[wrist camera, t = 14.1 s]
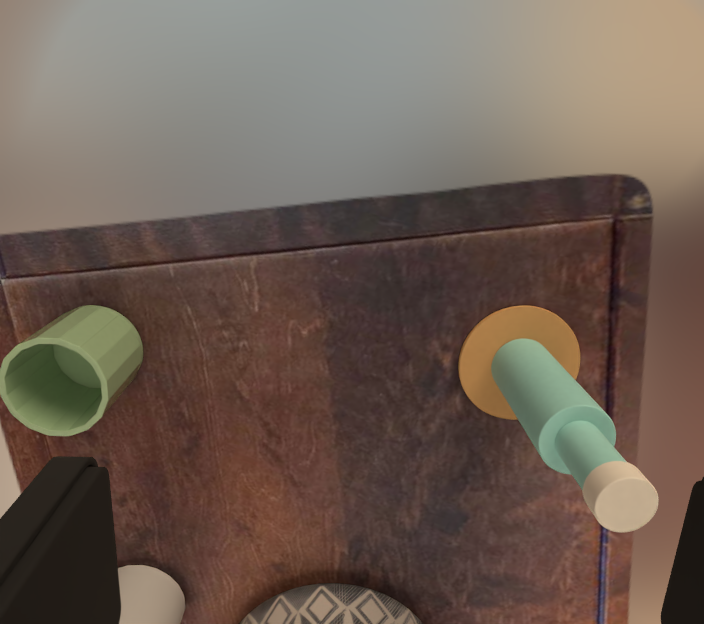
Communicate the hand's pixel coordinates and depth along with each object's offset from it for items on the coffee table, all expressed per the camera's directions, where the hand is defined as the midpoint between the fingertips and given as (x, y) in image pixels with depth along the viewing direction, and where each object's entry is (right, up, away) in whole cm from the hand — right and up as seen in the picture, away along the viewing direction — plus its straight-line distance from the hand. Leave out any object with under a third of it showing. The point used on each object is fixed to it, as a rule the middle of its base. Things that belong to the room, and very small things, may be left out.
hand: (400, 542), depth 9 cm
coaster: (+12, 0, +35) cm, 37 cm away
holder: (-19, +1, +34) cm, 39 cm away
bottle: (+12, 0, +34) cm, 36 cm away
